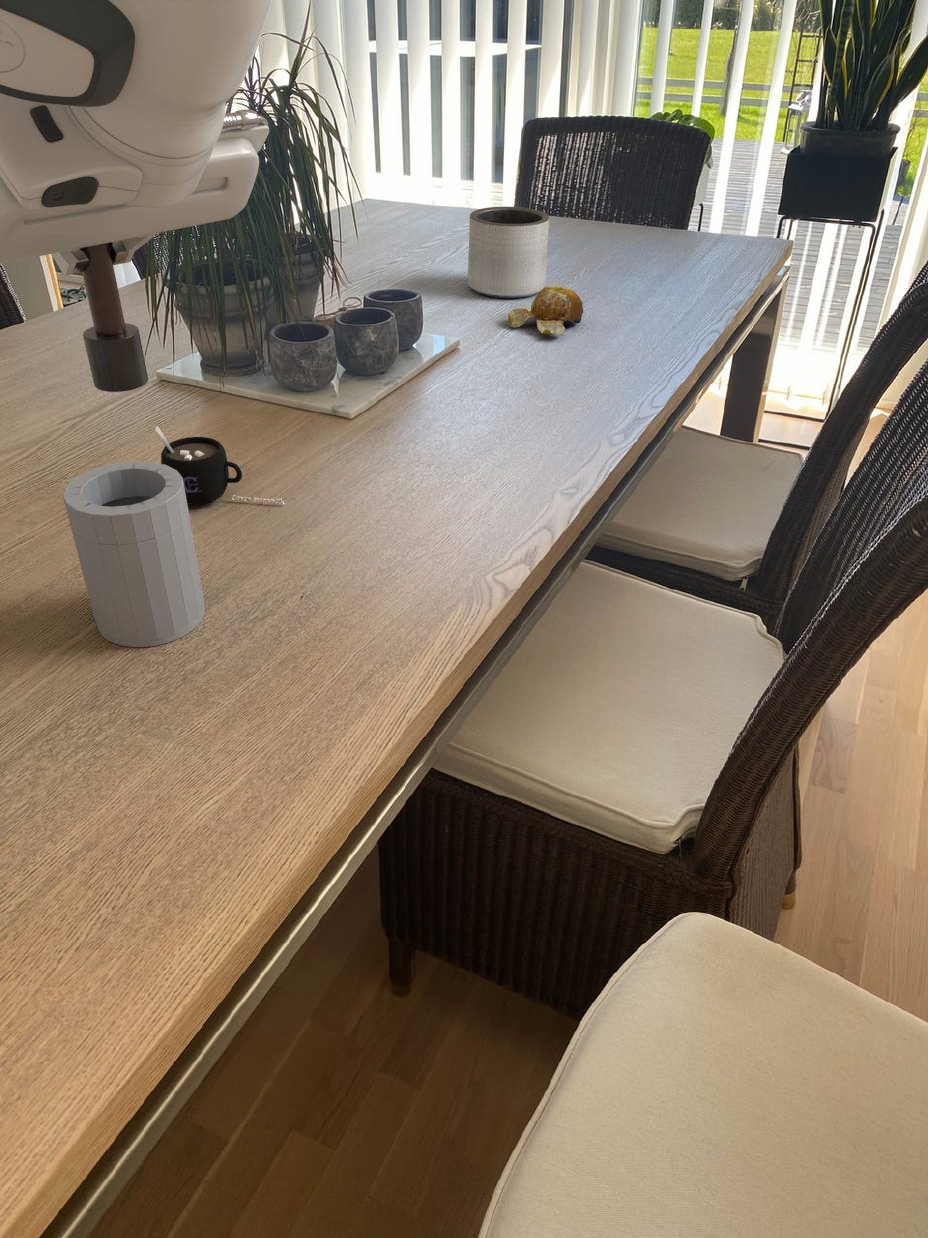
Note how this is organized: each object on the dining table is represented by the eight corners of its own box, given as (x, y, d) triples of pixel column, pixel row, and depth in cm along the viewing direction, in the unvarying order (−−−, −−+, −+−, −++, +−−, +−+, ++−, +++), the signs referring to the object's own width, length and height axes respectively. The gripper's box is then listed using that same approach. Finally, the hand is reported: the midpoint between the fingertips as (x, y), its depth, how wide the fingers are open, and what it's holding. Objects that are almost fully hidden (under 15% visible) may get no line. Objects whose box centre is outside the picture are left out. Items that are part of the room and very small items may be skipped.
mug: (156, 510, 93) (142, 440, 88) (180, 481, 98) (167, 413, 93) (275, 520, 91) (267, 449, 87) (293, 489, 96) (286, 421, 92)
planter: (550, 280, 157) (555, 208, 150) (538, 303, 147) (542, 227, 140) (477, 274, 159) (478, 203, 153) (459, 296, 149) (460, 221, 143)
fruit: (498, 322, 138) (499, 289, 136) (546, 307, 145) (548, 276, 142) (554, 339, 132) (556, 305, 130) (601, 323, 139) (604, 290, 136)
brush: (101, 396, 71) (48, 162, 62) (88, 378, 74) (37, 152, 64) (154, 386, 73) (111, 157, 63) (140, 369, 75) (97, 147, 66)
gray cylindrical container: (112, 659, 74) (78, 525, 67) (86, 604, 80) (52, 476, 73) (219, 627, 77) (197, 497, 70) (186, 577, 83) (163, 452, 76)
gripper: (253, 67, 63) (194, 199, 74) (-62, 95, 51) (-75, 247, 62) (300, 150, 63) (234, 270, 74) (-3, 197, 51) (-27, 331, 62)
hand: (91, 260), depth 68 cm, fingers closed on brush, 2 cm apart
